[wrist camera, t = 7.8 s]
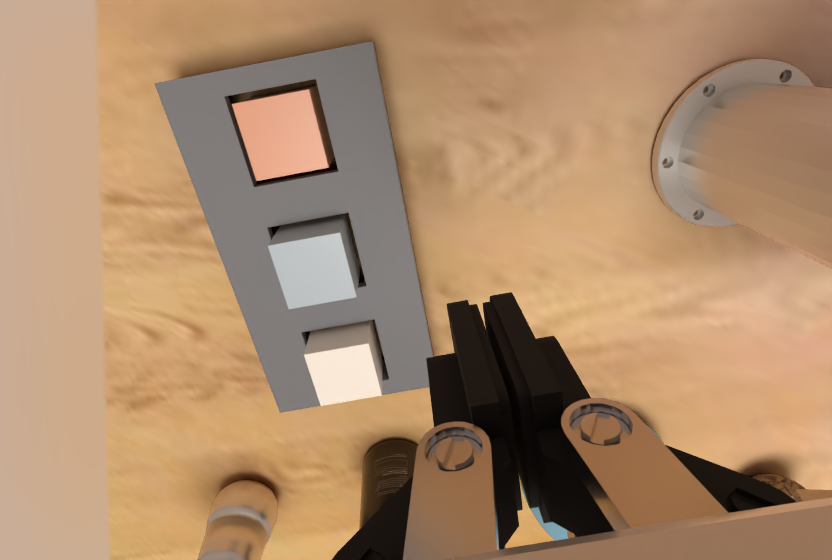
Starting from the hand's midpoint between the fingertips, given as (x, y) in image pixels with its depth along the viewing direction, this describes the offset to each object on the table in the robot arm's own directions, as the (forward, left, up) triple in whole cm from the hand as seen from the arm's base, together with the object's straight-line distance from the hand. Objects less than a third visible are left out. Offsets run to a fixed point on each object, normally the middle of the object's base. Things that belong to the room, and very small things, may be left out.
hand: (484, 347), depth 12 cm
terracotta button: (+9, -4, -27) cm, 29 cm away
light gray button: (+9, +5, -25) cm, 27 cm away
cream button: (+9, +15, -25) cm, 30 cm away
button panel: (+9, +6, -27) cm, 29 cm away
